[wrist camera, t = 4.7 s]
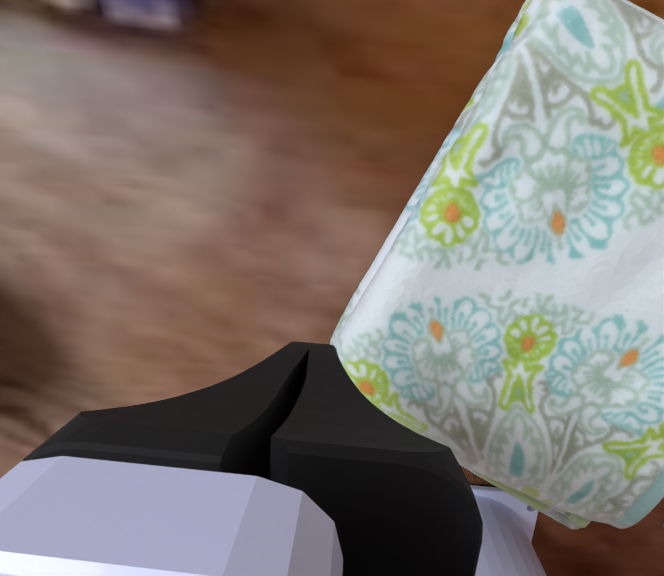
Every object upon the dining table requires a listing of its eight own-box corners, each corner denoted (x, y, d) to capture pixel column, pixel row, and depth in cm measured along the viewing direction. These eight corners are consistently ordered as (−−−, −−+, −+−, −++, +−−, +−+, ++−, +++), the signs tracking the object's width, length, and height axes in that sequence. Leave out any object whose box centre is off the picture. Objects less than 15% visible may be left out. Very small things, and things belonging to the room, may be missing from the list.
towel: (310, 360, 23) (296, 409, 18) (527, -13, 17) (593, -93, 12) (567, 496, 24) (620, 577, 19) (850, 186, 18) (1031, 186, 13)
